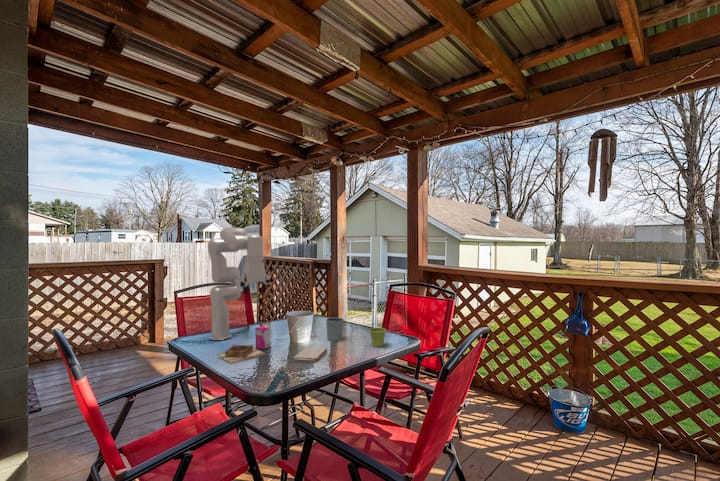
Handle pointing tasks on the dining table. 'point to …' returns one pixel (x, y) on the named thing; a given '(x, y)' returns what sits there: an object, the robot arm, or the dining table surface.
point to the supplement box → (263, 337)
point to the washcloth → (310, 355)
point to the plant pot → (377, 336)
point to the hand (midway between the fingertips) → (254, 293)
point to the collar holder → (240, 353)
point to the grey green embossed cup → (334, 329)
